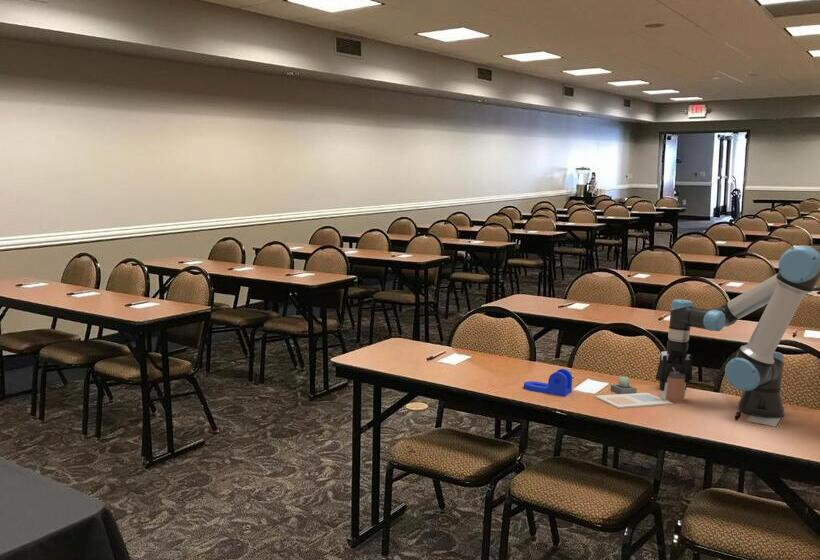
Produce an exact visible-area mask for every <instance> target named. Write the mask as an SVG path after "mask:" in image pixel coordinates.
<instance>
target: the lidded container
mask: <svg viewBox="0 0 820 560" xmlns="http://www.w3.org/2000/svg"><path fill="white" fill-rule="evenodd" d="M684 382H685V374H683V373H680V372H670V374H669V376H668V379H667V383H668V385H667V394H666V401H669V402H671V403H679V402H680V403H682V402H684V399H683V394H684Z"/></svg>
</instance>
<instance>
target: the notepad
mask: <svg viewBox="0 0 820 560" xmlns="http://www.w3.org/2000/svg"><path fill="white" fill-rule="evenodd" d="M594 398H595V399H598V400H599V401H601V402H603V403H606V404H608V405H611V406H612V407H614V408H616V409H618V410H619V409H630V408H643V407H644V408H645V407H656V406H657V407H659V406H670V405H673V404H674V402H672V401H669V400H667V399H666V400H663V399H661V398H660V396H657V395H654V394H652V393H649V392H636V393H631V394H617V393H615V394H604V395H602V394H601V395H594Z"/></svg>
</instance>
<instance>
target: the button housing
mask: <svg viewBox="0 0 820 560" xmlns="http://www.w3.org/2000/svg"><path fill="white" fill-rule="evenodd" d="M618 385H619V383H617V384H614V383H613V384H611V385H610V392H613V393H615V394H631V393H637V387H635V386H632V385H630V384H629V388H621V387H618Z"/></svg>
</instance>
